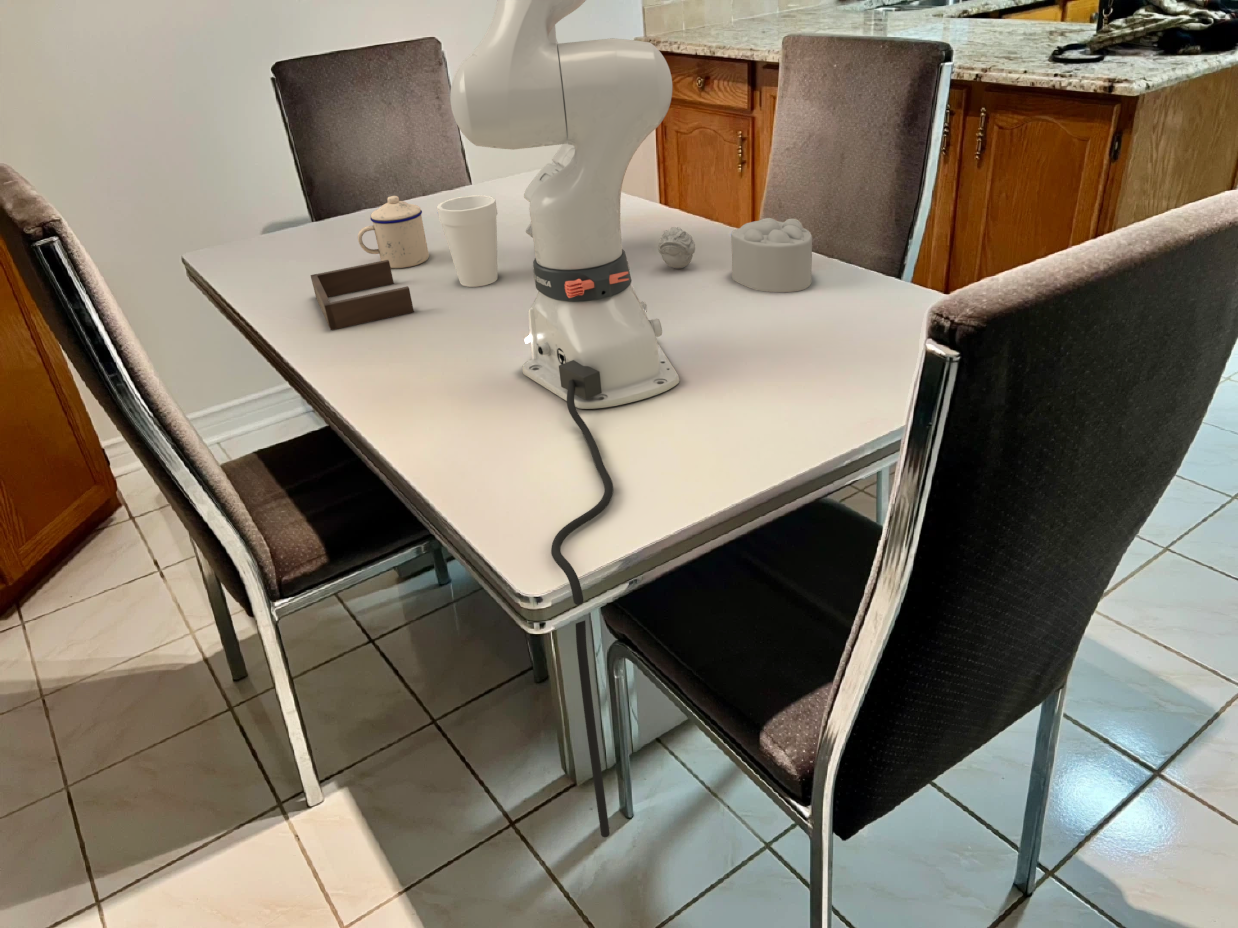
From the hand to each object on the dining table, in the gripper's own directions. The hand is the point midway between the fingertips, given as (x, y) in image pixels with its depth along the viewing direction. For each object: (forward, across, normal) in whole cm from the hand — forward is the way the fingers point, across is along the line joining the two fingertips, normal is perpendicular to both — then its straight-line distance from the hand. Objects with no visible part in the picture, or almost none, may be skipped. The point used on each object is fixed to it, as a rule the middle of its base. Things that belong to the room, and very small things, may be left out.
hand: (531, 236), depth 159 cm
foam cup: (+11, 0, -3) cm, 12 cm away
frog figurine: (-10, +15, +18) cm, 26 cm away
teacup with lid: (+18, -19, -10) cm, 28 cm away
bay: (+24, 0, -17) cm, 30 cm away
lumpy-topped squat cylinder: (-17, +29, +25) cm, 42 cm away
